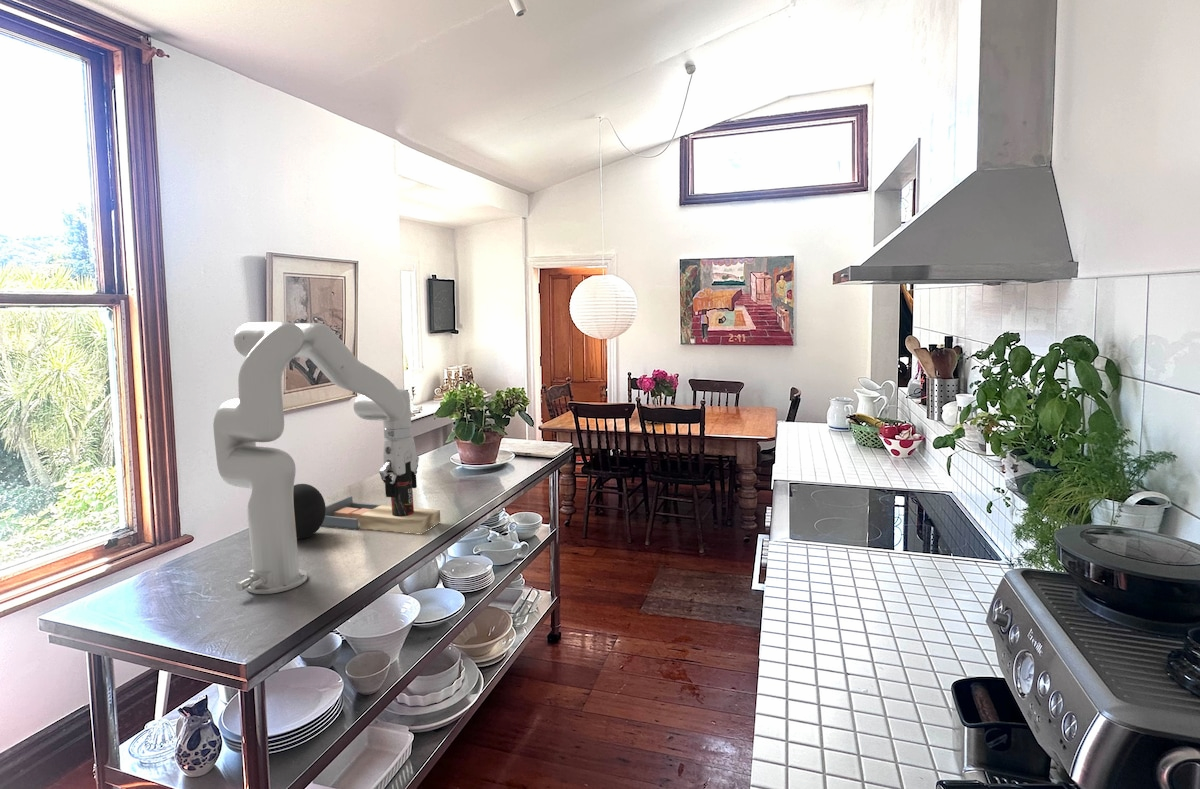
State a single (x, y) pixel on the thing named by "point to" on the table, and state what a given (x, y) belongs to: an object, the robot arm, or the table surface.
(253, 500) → the robot arm
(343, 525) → the tray
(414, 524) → the board
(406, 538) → the table surface
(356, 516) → the tile
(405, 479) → the deodorant
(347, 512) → the tile
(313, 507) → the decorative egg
